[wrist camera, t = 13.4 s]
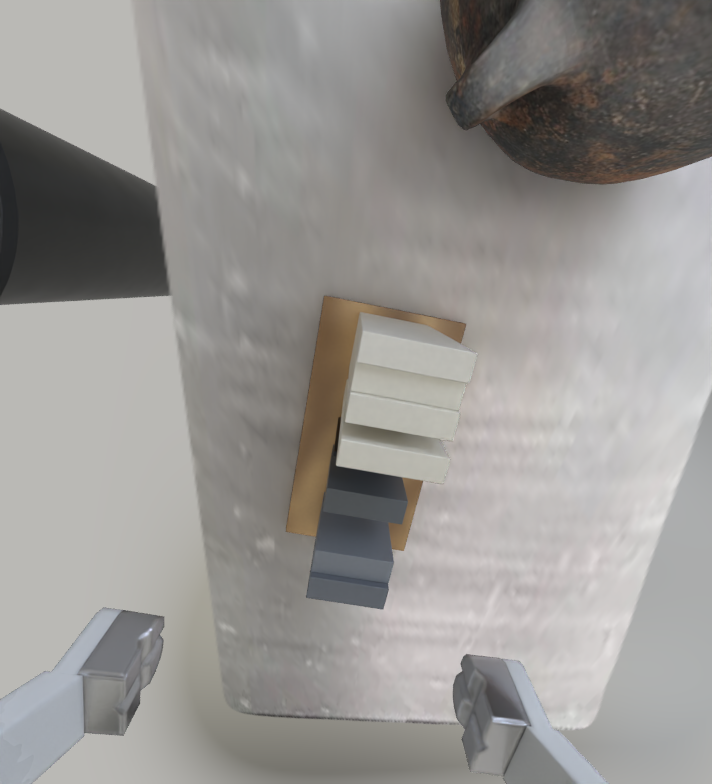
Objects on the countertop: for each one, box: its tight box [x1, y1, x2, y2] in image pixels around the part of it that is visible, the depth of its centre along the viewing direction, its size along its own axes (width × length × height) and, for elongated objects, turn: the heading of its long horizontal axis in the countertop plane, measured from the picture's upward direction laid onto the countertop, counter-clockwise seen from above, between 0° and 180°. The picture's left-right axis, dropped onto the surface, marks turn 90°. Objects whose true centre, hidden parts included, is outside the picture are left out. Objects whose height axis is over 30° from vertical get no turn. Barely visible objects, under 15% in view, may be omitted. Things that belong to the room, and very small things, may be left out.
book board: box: [286, 296, 466, 551], centre depth 34 cm, size 12×23×1 cm, turn 169°
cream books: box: [345, 312, 478, 441], centre depth 25 cm, size 6×5×13 cm
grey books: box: [306, 444, 408, 609], centre depth 31 cm, size 6×9×8 cm, turn 169°
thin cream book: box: [336, 379, 451, 484], centre depth 26 cm, size 6×2×13 cm, turn 79°
